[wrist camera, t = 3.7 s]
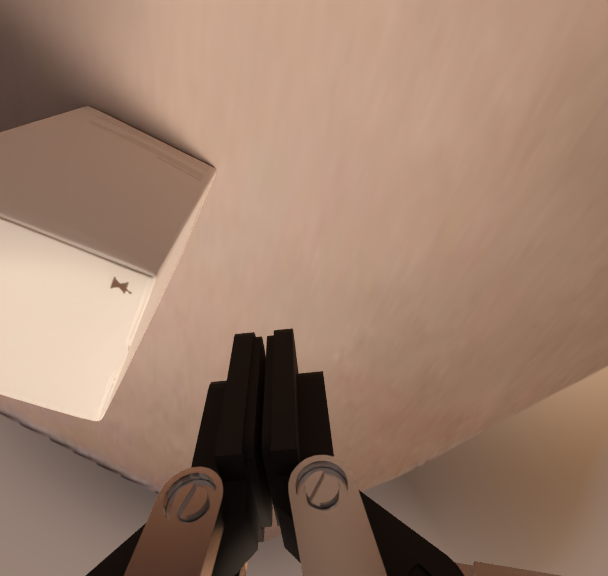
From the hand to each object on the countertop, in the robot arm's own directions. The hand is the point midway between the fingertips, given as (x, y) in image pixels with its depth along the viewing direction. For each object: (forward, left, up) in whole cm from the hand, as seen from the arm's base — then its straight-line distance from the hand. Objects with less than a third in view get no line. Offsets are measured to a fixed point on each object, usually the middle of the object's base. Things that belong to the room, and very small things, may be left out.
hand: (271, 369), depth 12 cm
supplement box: (+10, 0, -19) cm, 21 cm away
